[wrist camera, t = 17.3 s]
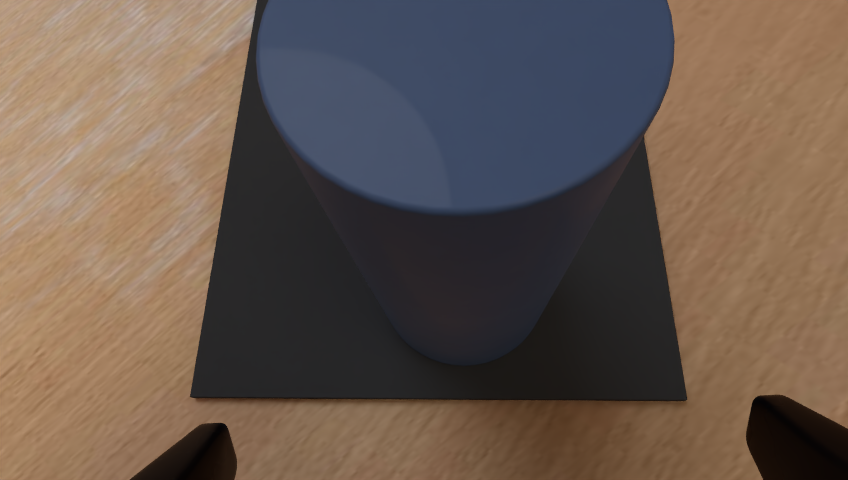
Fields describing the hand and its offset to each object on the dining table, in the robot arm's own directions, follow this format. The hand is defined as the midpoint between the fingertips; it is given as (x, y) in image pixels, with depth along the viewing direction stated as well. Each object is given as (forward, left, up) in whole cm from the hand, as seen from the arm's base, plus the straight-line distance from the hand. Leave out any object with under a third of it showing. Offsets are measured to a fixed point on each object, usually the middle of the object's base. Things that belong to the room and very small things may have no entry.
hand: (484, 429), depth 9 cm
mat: (+12, -4, -8) cm, 15 cm away
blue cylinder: (+5, -2, -8) cm, 9 cm away
